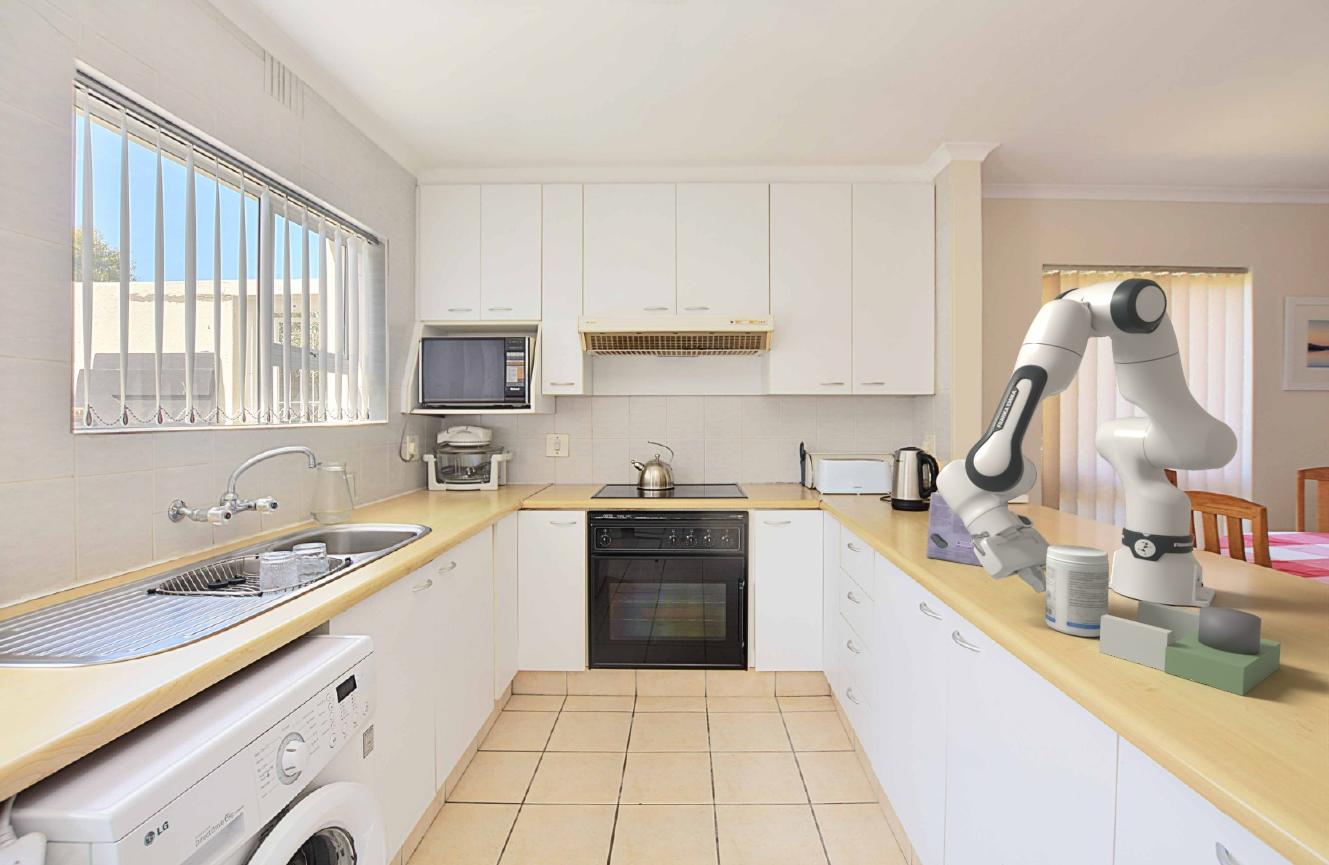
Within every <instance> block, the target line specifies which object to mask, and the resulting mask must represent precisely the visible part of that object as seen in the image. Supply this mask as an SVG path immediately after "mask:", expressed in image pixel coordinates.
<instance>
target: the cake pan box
mask: <svg viewBox="0 0 1329 865" xmlns="http://www.w3.org/2000/svg"><path fill="white" fill-rule="evenodd" d="M1004 505H1005V506H1006V507H1007V508H1008V507H1009V506H1008V505H1009V501H1007V502H1004ZM1008 509H1009V508H1008ZM928 514H929V517H928V526H927V527H928V528H927V543H926V553H925V554H926V557H927V558H929V559H936V560H941V561H948V562H952V563H959V564H963V565H964V564H965V565H970V566H972V565H973V566H978V567H983V566H982V564H981V562H980V561H979V559H978V558H977V556H976V554H975V552H974V546H973V545H972V543H971V536H972V535H971V534H970V533H969V532H968V530H967V529H966V527H965V524H964V522H963V521H962V519H961V518H960V517H958V516H957V515H956V514H955V513H954V512H953V511H952V510H951V508H950V507H949V506H948V504H947V503H946V502H945V500H944V499H943V497H942V496H941V494H940V492H937V491H936V492H931V494H930V503H929V513H928Z"/></svg>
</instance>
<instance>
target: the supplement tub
mask: <svg viewBox="0 0 1329 865" xmlns="http://www.w3.org/2000/svg"><path fill="white" fill-rule="evenodd" d="M1109 574H1110V563H1109V554H1108V552H1107V551H1105V550H1102V549H1098V548H1094V547H1089V546H1081V545H1071V544H1052V545H1050V546H1049V547H1048V548H1047V557H1046V567H1045V577H1046V591H1045V618H1044V619H1045V623H1046V625H1047V626H1048V627H1049V628H1051V629H1053V630H1055V631H1058V632H1059V633H1063V634H1067V635H1071V636H1072V635H1073V636H1078V637H1087V638H1094V637H1095V638H1096V637H1097V638H1098V637H1100V624H1101V616H1103V615H1106V614H1107V615H1109V589H1110V588H1109V580H1110V578H1109V576H1110V575H1109Z"/></svg>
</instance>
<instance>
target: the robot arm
mask: <svg viewBox="0 0 1329 865" xmlns="http://www.w3.org/2000/svg"><path fill="white" fill-rule="evenodd" d="M1167 299H1168V298H1167V296H1166V293H1165V291H1164V290H1163V288H1162V287H1161V286H1160V284H1159V283H1157V282H1156V281H1155V280H1152V279H1148V278H1140V277H1138V278H1134V277H1133V278H1128V279H1124V280H1122V279H1120V280H1119V279H1118V280H1109V281H1102V282H1097V283H1095V284H1091V285H1085V286H1083V287H1079V288H1075V287H1074V288H1071V289H1068V290H1066V291H1064V292H1062V293H1060V294H1059V295H1057V296H1055V298H1054V299H1053V300H1051V301H1048V302H1046V303H1045V304H1043V306H1042V307H1041V308H1040V310H1039V311H1038V313H1037V314H1036V316H1035V317H1034V319H1033V321H1032V323H1031V325H1030V326H1029V328H1028V330H1027V332H1026V335H1025V336H1024V339H1023V341H1022V344H1021V347H1020V349H1019V352H1018V355H1017V359H1016V361H1015V365H1014V368H1013V371H1012V374H1011V376H1010V379H1009V382H1008V384H1007V386H1006V388H1005V389H1004V390H1005V391H1004V392H1003V394H1002V397H1001V399H1000V402H999V403H998V406H997V408H996V410H995V412H994V415H993V416H992V419H991V421H990V424H989V426H988V428H987V430H986V432H985V433H984V434H983V436H982V437H981V438H980V439H979V440H978V441H977V442H976V443H974V445H973V446H972V447H971V449H970V450H968V453H967V454H966V457H965V458H964V459H962V458H956V459H953V460H952V461H950V462H948V463H946V465H945V466H943V467H942V468H941V470H940V471H939V472H938V475H937V476H936V480H935V483H936V487H937V490H938V493H940V494H941V496H942V497H943V499H944V500H945V502H946V503H947V504H948V506H949V507H950V508H951V510H952V511H953V512H954V513H955V514H956V515H957V516H958V517H960V518H961V519H962V521H963V522H964V524H965V527H966V529H967V530H968V532H969V533H970V534H971V535H972V536H971V543H972V545H973V546H974V552H975V554H976V556H977V558H978V559H979V561H980V562H981V564H982V566H981V567H983V569H984V570H985V571H986V573H987V574H988V575H989V577H991V578H992V579H994V580H997V581H998V580H1000V579H1005V578H1009V577H1012V576H1018V578H1020V580H1022V581H1023V582H1024V583H1026V584H1028V585H1029V586H1030V587H1031V588H1032V589H1033V591H1034V592H1036V593H1037V594H1040V593H1042V592H1046V573H1045V572H1044V568H1045V569H1046V557H1047V548H1048V547H1049V546H1051V545H1050V543H1049V542H1048V541H1047V540H1046V538H1045V537H1044V536H1043V535H1042V534H1041V533H1040V532H1039V531H1038V530H1037V529H1036V528H1035V527H1033V526H1034V525H1035V524H1034V521H1032V519H1031V518H1029V517H1028V516H1025V515H1021V514H1019V513H1018V514H1017V513H1016V512H1014V511H1010V510H1009V508H1007V507H1006V506H1005V505H1004V502H1007V501H1008V502H1009V501H1012V500H1014V499H1016V498H1018V497H1020V496H1022V495H1025V494H1026V493H1028V492H1030V491H1031V490H1032V488H1033V487H1034V486H1035V483H1036V480H1037V478H1038V477H1037V475H1038V473H1037V470H1036V466H1035V464H1034V463H1033V461H1032V460H1031V459H1030V458H1028V457H1027V456H1026V455H1025V454H1023V442H1024V439H1025V437H1026V435H1027V432H1028V430H1029V428H1030V425H1031V423H1032V420H1033V419H1034V416H1035V414H1036V411H1037V410H1038V408H1039V406H1041V404H1042V402H1043V401H1044V400H1045V399H1047V398H1049V397H1053V396H1056V395H1059V394H1061V393H1063V392H1065V391H1066V390H1068V388H1069V387H1070V386H1071V383H1072V382H1073V380H1074V379H1075V377H1076V375H1077V373H1078V371H1079V369H1080V366H1081V363H1082V360H1083V358H1084V356H1085V352H1086V349H1087V346H1088V343H1089V339H1090V338H1105V337H1109V339H1110V340H1111V348H1112V350H1111V352H1112V358H1113V366H1114V371H1115V374H1116V375H1115V376H1116V381H1117V386H1118V392H1119V394H1120V396H1121V397H1122V398H1123V399H1124V400H1125V401H1127V402H1129V403H1131V404H1133V405H1134V406H1136V407H1138V408H1140V409H1141V410H1142V411H1143V412H1144V413H1145V414H1146V416H1126V417H1125V416H1124V417H1117V418H1113V419H1108V420H1105V421H1104V422H1103V423H1101V425H1100V426H1098V428H1097V430H1096V432H1095V435H1094V446H1095V449H1096V452H1097V454H1099V456H1100V457H1101V458H1102V459H1103V460H1105V461H1106V462H1107V463H1108V464H1109V465H1110V466H1111V467H1112V468H1113V469H1114V471H1115V472H1116V474H1117V476H1118V478H1119V480H1120V483H1121V485H1122V488H1123V493H1124V505H1125V506H1124V507H1125V509H1124V510H1125V511H1124V512H1125V516H1124V517H1125V520H1124V527H1123V528H1122V530H1121V531H1122V533H1121V544H1122V546H1121V547H1120V548H1118V549H1117V550H1115V551H1114V554H1113V558H1112V567H1111V576H1110V579H1109V588H1108V589H1112V591H1115V592H1116V593H1118V594H1120V595H1123V596H1126V597H1129V598H1132V599H1136V600H1139V601H1142V600H1145V601H1149V602H1154V603H1158V604H1163V605H1170V606H1171V605H1174V606H1190V607H1191V606H1193V607H1199V608H1201V607H1211V604H1212V603H1213V600H1214V598H1215V596H1216V590H1215V589H1213V588H1210V587H1208V586H1204V583H1203V566H1202V565H1201V564H1200V563H1199V561H1198V560H1197V558H1196V556H1195V555H1194V553H1193V551H1194V542H1195V540H1196V536H1195V533H1190V532H1191V518H1192V517H1191V516H1192V514H1191V512H1192V502H1191V499H1190V497H1189V495H1188V494H1187V493H1186V492H1185V491H1183V490H1182V489H1181V488H1180V487H1179V488H1178V487H1177V486H1175V485H1173V483H1171V481H1170V480H1169V479H1168V477H1167V475H1166V471H1165V469H1168V470H1169V469H1172V470H1181V471H1182V470H1184V471H1192V472H1193V471H1205V470H1218V469H1222V468H1224V467H1225V466H1227V465H1228V464H1229V463H1230V462H1231V461H1232V460H1233V459H1234V457H1235V456H1236V453H1237V450H1238V439H1237V435H1236V433H1235V432H1234V430H1233V429H1232V427H1231V426H1229V425H1228V424H1227V423H1226V422H1223V421H1222V420H1219V419H1217V418H1216V417H1215V416H1213V415H1212V414H1210V413H1209V412H1208V411H1207V410H1205V409H1204V408H1203V406H1201V404H1199V402H1198V401H1197V400H1196V398H1195V397H1194V395H1193V394H1192V393H1191V391H1190V389H1189V387H1188V384H1187V382H1186V381H1187V380H1186V378H1185V373H1184V370H1183V364H1182V360H1181V354H1180V347H1179V343H1178V342H1179V341H1178V338H1177V335H1176V331H1175V329H1174V326H1173V324H1172V321H1171V317H1170V316H1169V313H1168V311H1167V308H1168V307H1167V306H1168V303H1167ZM1214 595H1215V596H1214Z"/></svg>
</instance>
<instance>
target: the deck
mask: <svg viewBox="0 0 1329 865" xmlns="http://www.w3.org/2000/svg"><path fill="white" fill-rule="evenodd" d="M1137 603H1138V604H1137V605H1138V606H1137V621H1134V620H1130V619H1126V618H1122V617H1118V616H1114V615H1110V614H1108V615H1107V614H1106V615H1103V616H1101V624H1100V636H1099V650H1098V651H1099V653H1101V654H1104V655H1109V656H1111V655H1112V657H1114V656H1115V658H1119V659H1121V660H1124V659H1126V660H1125V661H1128V662H1132V663H1135V664H1138V663H1140V664H1139V665H1141V664H1142V665H1141V666H1144V665H1145V666H1144V667H1149V668H1151V667H1153V668H1152V669H1155V668H1156V669H1155V670H1158V671H1162V672H1165V674H1168V673H1169V674H1168V675H1171V676H1174V675H1177V676H1176V677H1178V676H1181V677H1183V678H1182V679H1184V678H1186V679H1185V680H1188V679H1192V680H1194V681H1197V682H1196V683H1198V682H1200V683H1199V684H1201V683H1204V684H1207V685H1206V686H1208V685H1209V687H1211V686H1212V688H1215V687H1217V688H1216V689H1218V688H1220V689H1219V690H1221V689H1222V691H1226V692H1228V691H1229V692H1228V693H1231V692H1232V694H1235V695H1238V696H1241V697H1244V695H1245V694H1247V693H1248V692H1250V691H1252V689H1253V688H1255V687H1256V686H1257V685H1259V684H1260V683H1262V682H1263V681H1264V680H1266V679H1267V678H1268V677H1269V676H1271V675H1272V674H1273V673H1275V672H1276V671H1277V670H1278V669H1280V662H1281V660H1280V658H1281V645H1282V644H1281V642H1279V641H1275V640H1270V639H1266V638H1262V637H1261V632H1262V630H1261V629H1262V618H1260V617H1259V616H1258V615H1255V614H1253V613H1250V612H1246V611H1243V610H1238V609H1233V608H1227V607H1221V606H1210V607H1199V611H1193V610H1188V609H1184V608H1180V607H1175V606H1171V605H1168V604H1162V603H1155V602H1149V601H1145V600H1139V601H1138V602H1137ZM1181 677H1180V678H1181ZM1194 681H1193V682H1194ZM1258 683H1259V684H1258ZM1204 684H1203V685H1204Z"/></svg>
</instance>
